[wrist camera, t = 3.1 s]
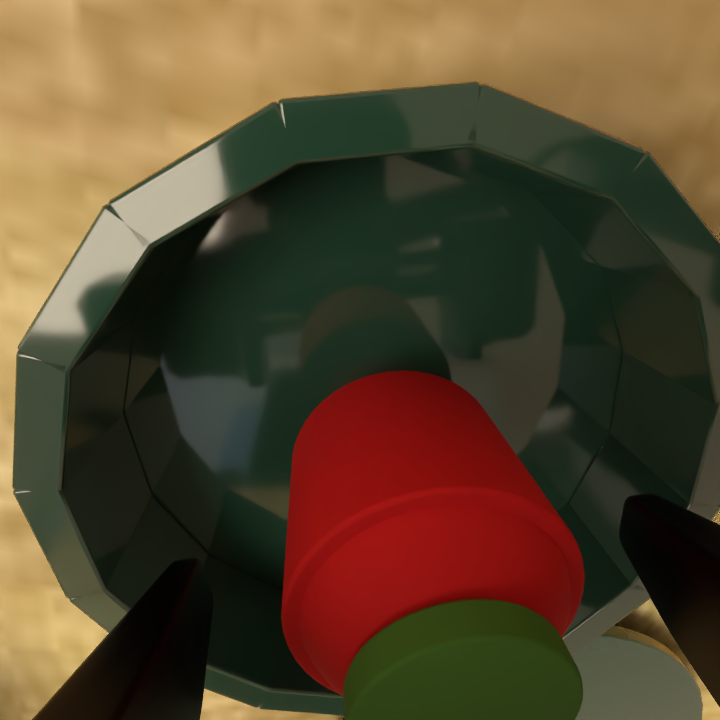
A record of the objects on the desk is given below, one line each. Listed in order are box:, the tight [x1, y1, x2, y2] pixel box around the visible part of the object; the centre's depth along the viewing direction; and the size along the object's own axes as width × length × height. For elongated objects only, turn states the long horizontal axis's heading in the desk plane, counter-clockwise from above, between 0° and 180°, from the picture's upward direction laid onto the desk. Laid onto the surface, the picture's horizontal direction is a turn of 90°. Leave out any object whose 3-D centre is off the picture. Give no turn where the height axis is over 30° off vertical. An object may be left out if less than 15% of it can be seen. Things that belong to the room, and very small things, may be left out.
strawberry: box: [281, 370, 585, 720], centre depth 8 cm, size 4×4×7 cm
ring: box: [13, 81, 720, 716], centre depth 10 cm, size 14×14×3 cm
